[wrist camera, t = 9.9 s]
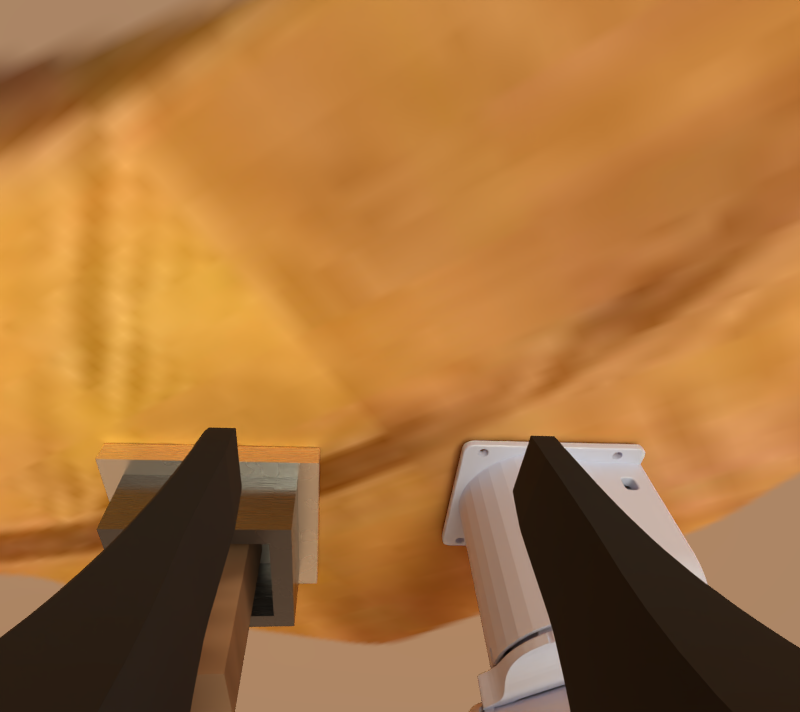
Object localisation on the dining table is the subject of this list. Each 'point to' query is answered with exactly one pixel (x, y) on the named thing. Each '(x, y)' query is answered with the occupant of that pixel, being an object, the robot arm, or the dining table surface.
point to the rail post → (227, 632)
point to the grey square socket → (257, 515)
